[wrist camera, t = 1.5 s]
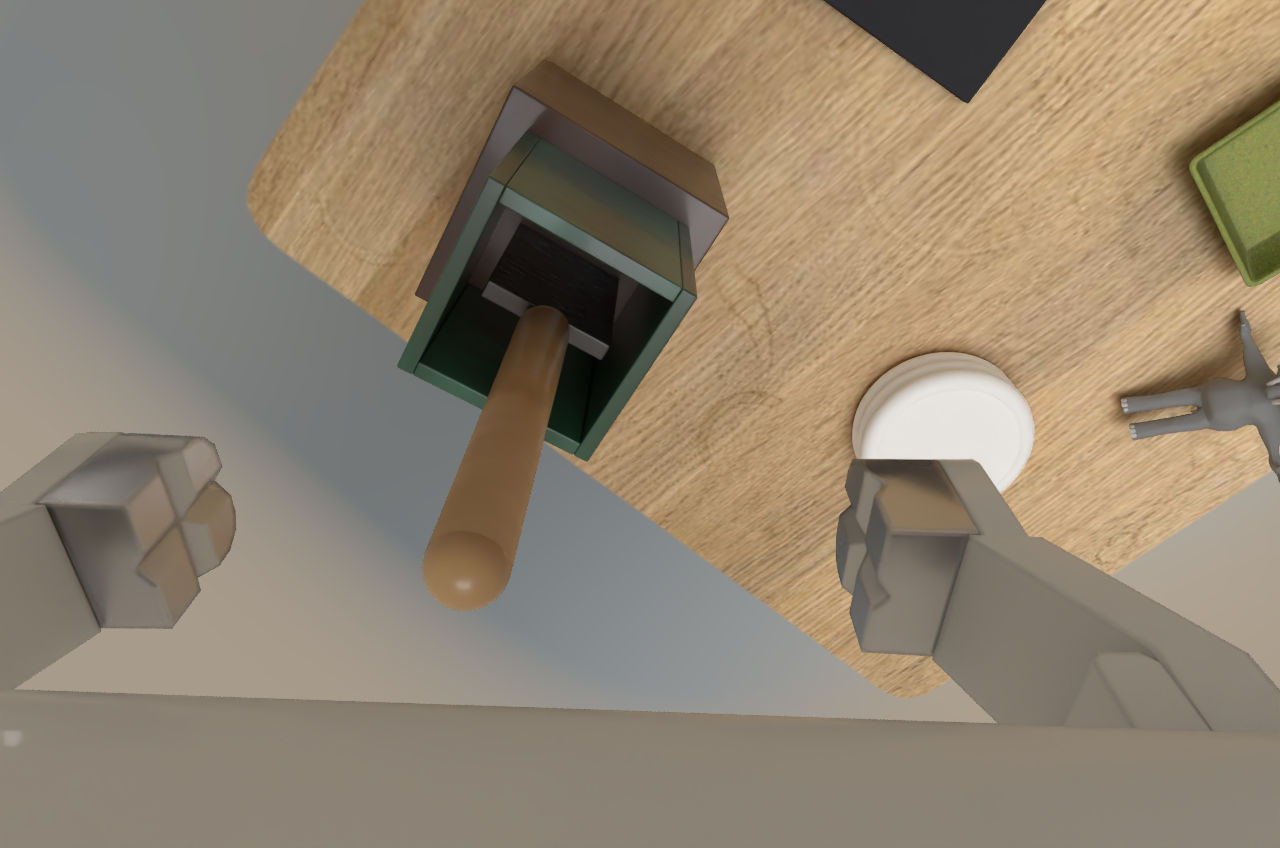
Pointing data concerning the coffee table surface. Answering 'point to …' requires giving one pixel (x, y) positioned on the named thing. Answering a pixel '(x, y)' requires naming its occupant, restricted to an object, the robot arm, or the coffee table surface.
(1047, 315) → the coffee table surface
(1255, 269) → the green square dish
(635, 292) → the open box
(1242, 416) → the elephant figurine
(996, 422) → the white round tub
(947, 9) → the mat
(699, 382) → the coffee table surface
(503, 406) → the spatula
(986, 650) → the robot arm
